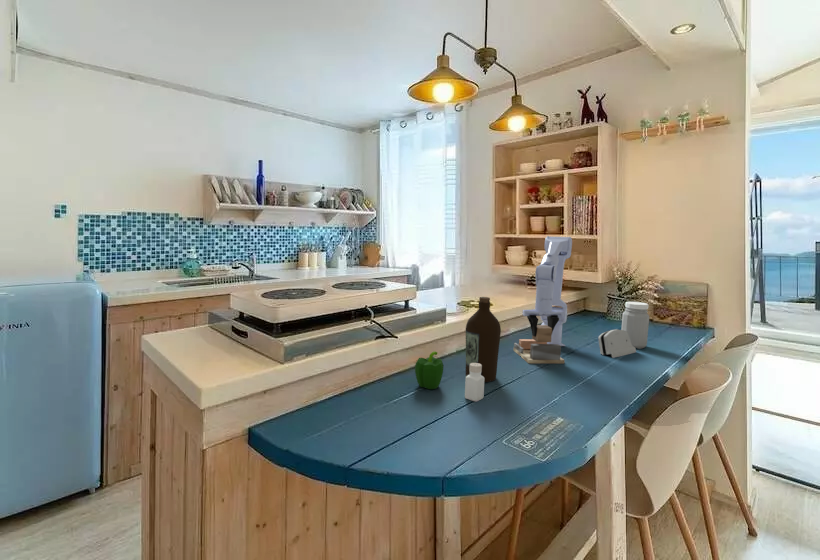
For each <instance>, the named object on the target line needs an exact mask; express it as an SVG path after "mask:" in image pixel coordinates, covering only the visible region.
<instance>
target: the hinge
mask: <svg viewBox="0 0 820 560" xmlns="http://www.w3.org/2000/svg"><path fill="white" fill-rule="evenodd" d="M597 338H598V347H599V352H600V355H601V354H602V355H601V356H605V355H610V356H611V359H614V358H619V357H623V356H627V355H630V354H634V353H637V349H636V348H635V347H633V346H632V344H631V341H630V338H629V335H628V333H627V332H626V331H624V330H621V329H611V330H607V331H605V332H602V333H601V334H600V335H598V337H597Z"/></svg>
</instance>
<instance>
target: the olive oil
mask: <svg viewBox="0 0 820 560" xmlns="http://www.w3.org/2000/svg"><path fill="white" fill-rule="evenodd" d="M478 298H479V301H478V309H477V311H475V312H474V314H473V315H471V316H470V318H469V319H467V322H466V324H465V377H466V376H467V375H469V374H470V371H469V369H470V368H469V367H470V363H479V364H481V365H482V369H481V370H482V371H481V376H483V377H484V378H485V379H484V383H489V382H494V381H495V380H496V379H497V371H498V359H499V351H500V341H501V332H502V331H501V329H502V328H501V324H500V321H499V320H498V318H497V317H496V316H495V315H494V314H493V312H492V311H491V309H490V308H491V302H490V301H491V297H488V296H480V297H478Z"/></svg>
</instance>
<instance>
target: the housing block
mask: <svg viewBox="0 0 820 560" xmlns="http://www.w3.org/2000/svg"><path fill="white" fill-rule="evenodd" d="M551 335H552V328H550V327H549V326H547V325H541V324H537V334H536V336H533V335H532V334H531V339H534V340H535V341H537V342H551Z"/></svg>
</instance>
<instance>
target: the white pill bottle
mask: <svg viewBox="0 0 820 560" xmlns="http://www.w3.org/2000/svg"><path fill="white" fill-rule="evenodd" d="M469 368H470V369H469V371H470V374H469V375H467V376H466V375H465V380H464V381H465V383H464V398H465V399H467V400H470V401H472V402H479V401H480V400H483V398H484V395H485V382H484V379H485V378H484V377H483V376H481V371H482V370H481V369H482V365H481V364H479V363H470V367H469Z"/></svg>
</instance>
